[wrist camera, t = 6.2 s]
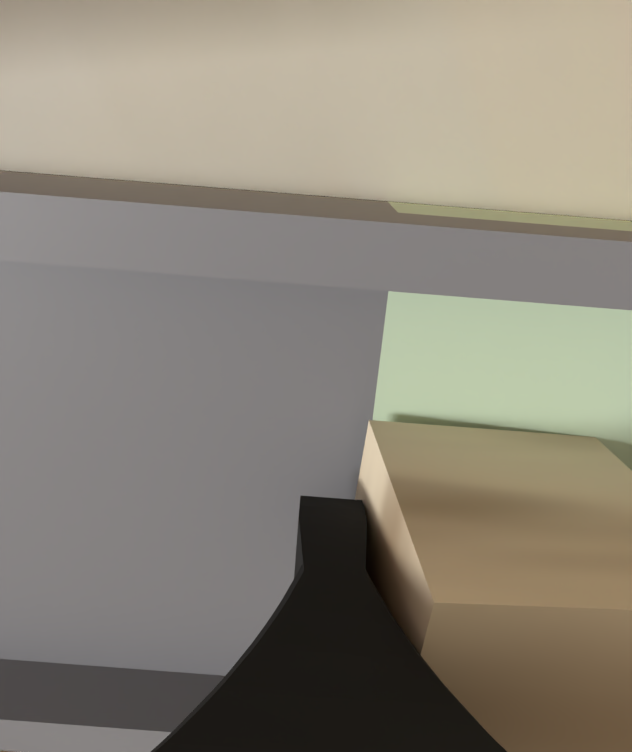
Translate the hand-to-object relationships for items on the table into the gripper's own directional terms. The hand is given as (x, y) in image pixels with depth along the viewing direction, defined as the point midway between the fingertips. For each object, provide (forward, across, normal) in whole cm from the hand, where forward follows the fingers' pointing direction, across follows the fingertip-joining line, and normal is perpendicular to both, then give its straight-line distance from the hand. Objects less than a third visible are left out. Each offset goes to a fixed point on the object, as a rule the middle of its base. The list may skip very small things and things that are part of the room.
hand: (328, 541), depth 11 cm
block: (+1, -3, 0) cm, 3 cm away
